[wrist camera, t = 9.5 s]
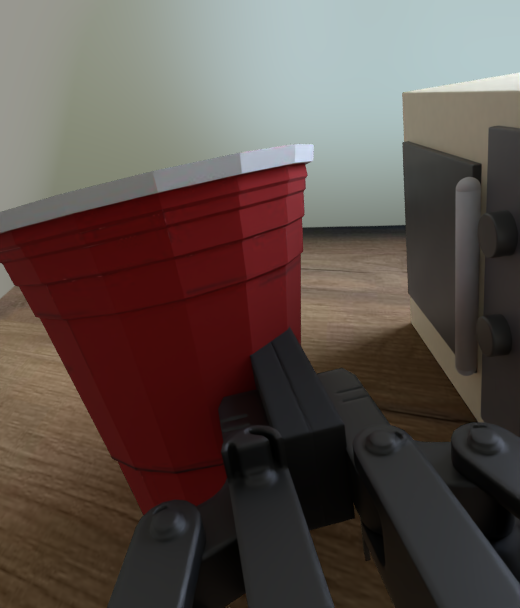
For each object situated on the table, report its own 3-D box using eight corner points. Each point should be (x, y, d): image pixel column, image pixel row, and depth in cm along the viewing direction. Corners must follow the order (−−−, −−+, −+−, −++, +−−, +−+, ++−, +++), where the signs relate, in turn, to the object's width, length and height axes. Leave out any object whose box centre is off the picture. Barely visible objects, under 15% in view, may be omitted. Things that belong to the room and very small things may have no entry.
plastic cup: (194, 408, 26) (142, 180, 23) (396, 436, 20) (363, 136, 17) (8, 556, 17) (-118, 219, 14) (269, 680, 11) (154, 158, 8)
